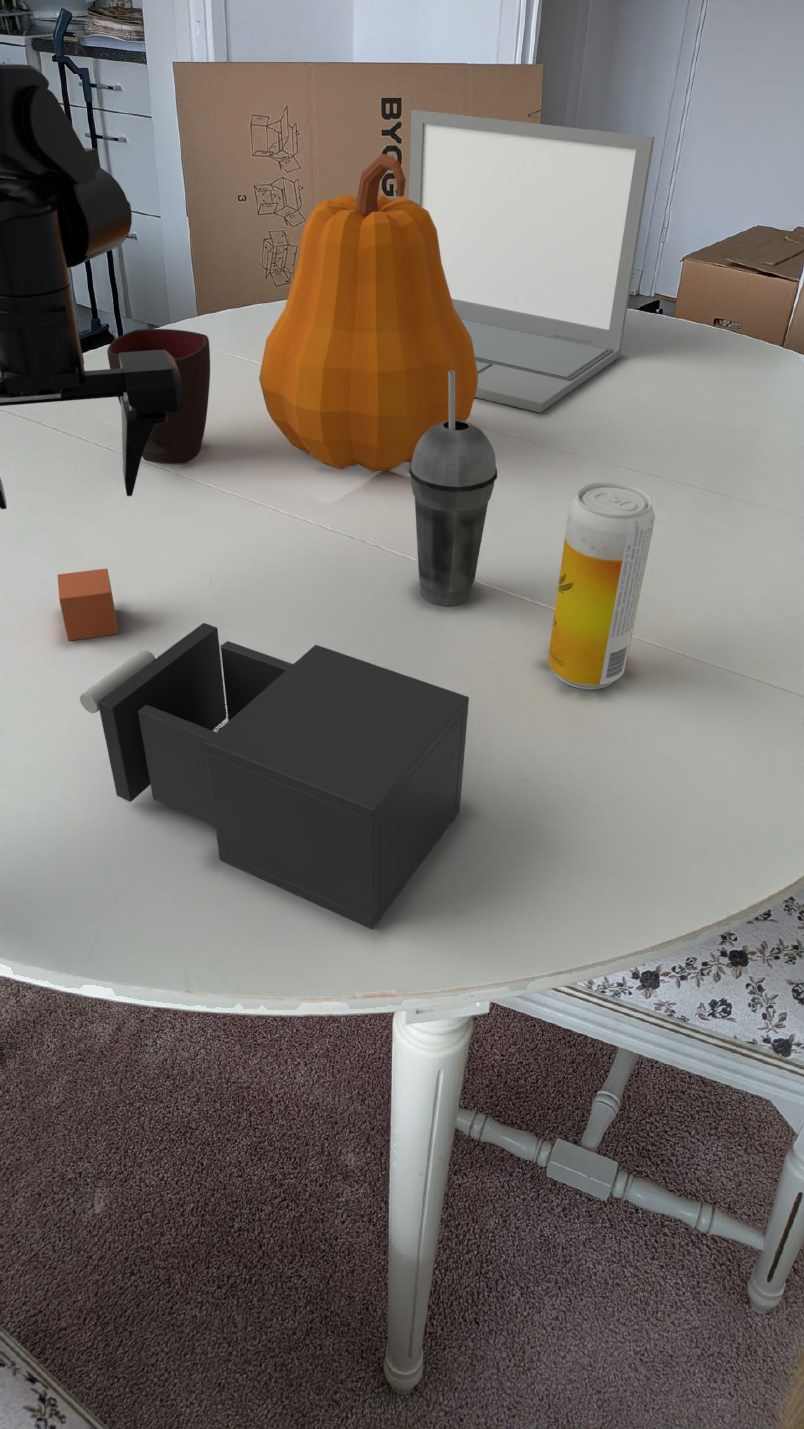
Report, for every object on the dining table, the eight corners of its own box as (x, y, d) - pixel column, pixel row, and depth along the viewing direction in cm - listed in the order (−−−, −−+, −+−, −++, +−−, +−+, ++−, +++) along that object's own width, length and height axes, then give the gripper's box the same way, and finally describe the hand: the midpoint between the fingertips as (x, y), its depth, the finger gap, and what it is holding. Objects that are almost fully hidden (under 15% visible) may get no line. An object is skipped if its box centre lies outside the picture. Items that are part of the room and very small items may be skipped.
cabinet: (219, 860, 62) (204, 741, 56) (319, 756, 70) (315, 644, 65) (372, 929, 58) (373, 810, 52) (459, 811, 66) (469, 696, 61)
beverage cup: (501, 587, 90) (523, 364, 77) (461, 623, 85) (478, 391, 72) (432, 564, 93) (442, 346, 80) (389, 598, 88) (393, 370, 75)
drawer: (69, 774, 67) (46, 681, 62) (168, 695, 74) (155, 605, 69) (240, 851, 62) (230, 755, 57) (330, 757, 69) (327, 665, 64)
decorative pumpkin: (514, 465, 111) (544, 159, 92) (324, 511, 101) (315, 179, 82) (404, 396, 126) (411, 124, 108) (230, 430, 116) (206, 136, 98)
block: (66, 615, 84) (57, 574, 82) (114, 609, 85) (107, 568, 83) (68, 641, 81) (59, 598, 79) (118, 634, 82) (111, 592, 80)
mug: (228, 440, 114) (219, 332, 107) (188, 492, 103) (175, 376, 96) (145, 432, 115) (130, 325, 108) (97, 483, 104) (77, 368, 97)
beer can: (577, 641, 83) (605, 472, 74) (638, 672, 80) (675, 499, 70) (531, 669, 80) (553, 496, 70) (592, 703, 76) (624, 526, 67)
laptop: (310, 358, 137) (303, 130, 120) (409, 313, 155) (415, 109, 138) (540, 413, 123) (569, 165, 106) (620, 357, 141) (655, 136, 124)
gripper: (154, 249, 75) (177, 447, 84) (-115, 261, 70) (-58, 469, 80) (172, 290, 67) (196, 504, 76) (-132, 306, 62) (-66, 532, 71)
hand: (67, 500), depth 76 cm, fingers open, 9 cm apart
